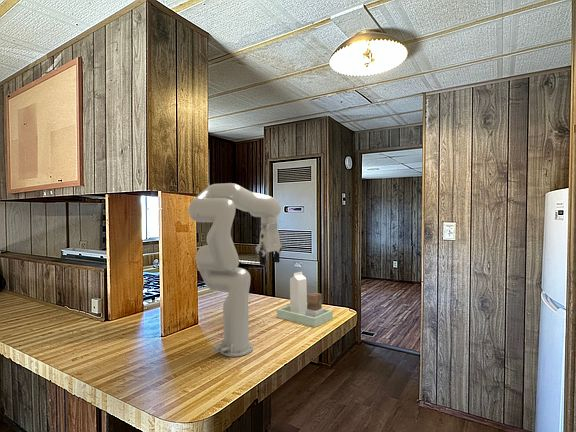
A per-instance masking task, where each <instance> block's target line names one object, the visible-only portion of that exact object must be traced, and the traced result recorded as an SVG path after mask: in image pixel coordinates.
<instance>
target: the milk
mask: <svg viewBox="0 0 576 432" xmlns="http://www.w3.org/2000/svg"><path fill="white" fill-rule="evenodd" d="M307 283H308V282H307V278H306V276H305V275H303V271H297V272H293V276H292V277H290V278H289V300H290V301H289V302H290V304H289V305H290V312H293V313H297V314H302V315H305V309H307V288H308V287H307V286H308V285H307Z"/></svg>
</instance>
